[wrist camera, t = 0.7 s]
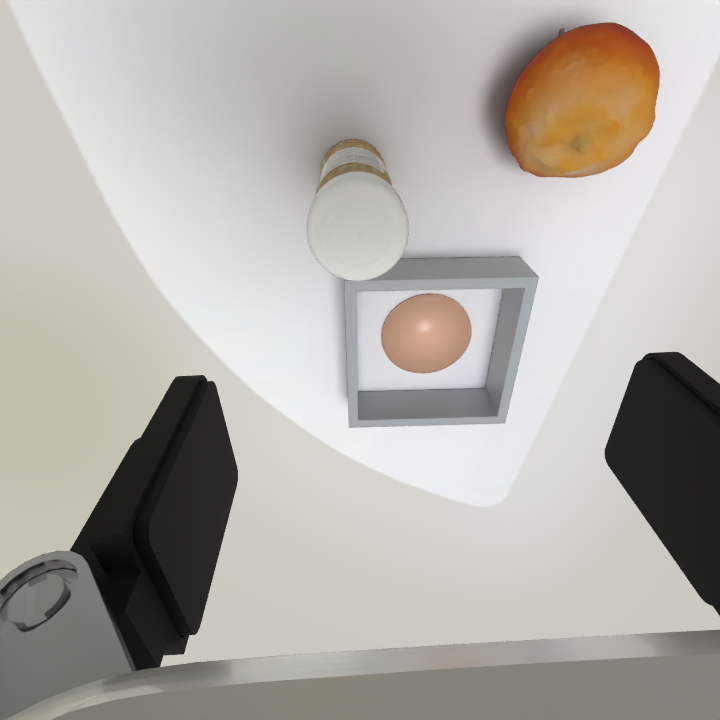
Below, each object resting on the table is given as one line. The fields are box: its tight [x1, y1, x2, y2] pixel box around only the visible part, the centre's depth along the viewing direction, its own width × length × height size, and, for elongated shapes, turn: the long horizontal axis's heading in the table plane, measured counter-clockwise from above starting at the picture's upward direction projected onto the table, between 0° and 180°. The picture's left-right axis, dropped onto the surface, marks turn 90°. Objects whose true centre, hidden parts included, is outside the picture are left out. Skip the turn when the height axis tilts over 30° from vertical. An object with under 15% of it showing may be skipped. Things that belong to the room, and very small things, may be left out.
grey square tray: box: [344, 257, 539, 428], centre depth 36 cm, size 14×14×4 cm
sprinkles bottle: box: [307, 139, 409, 281], centre depth 25 cm, size 5×5×14 cm
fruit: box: [505, 23, 660, 178], centre depth 26 cm, size 8×8×8 cm
